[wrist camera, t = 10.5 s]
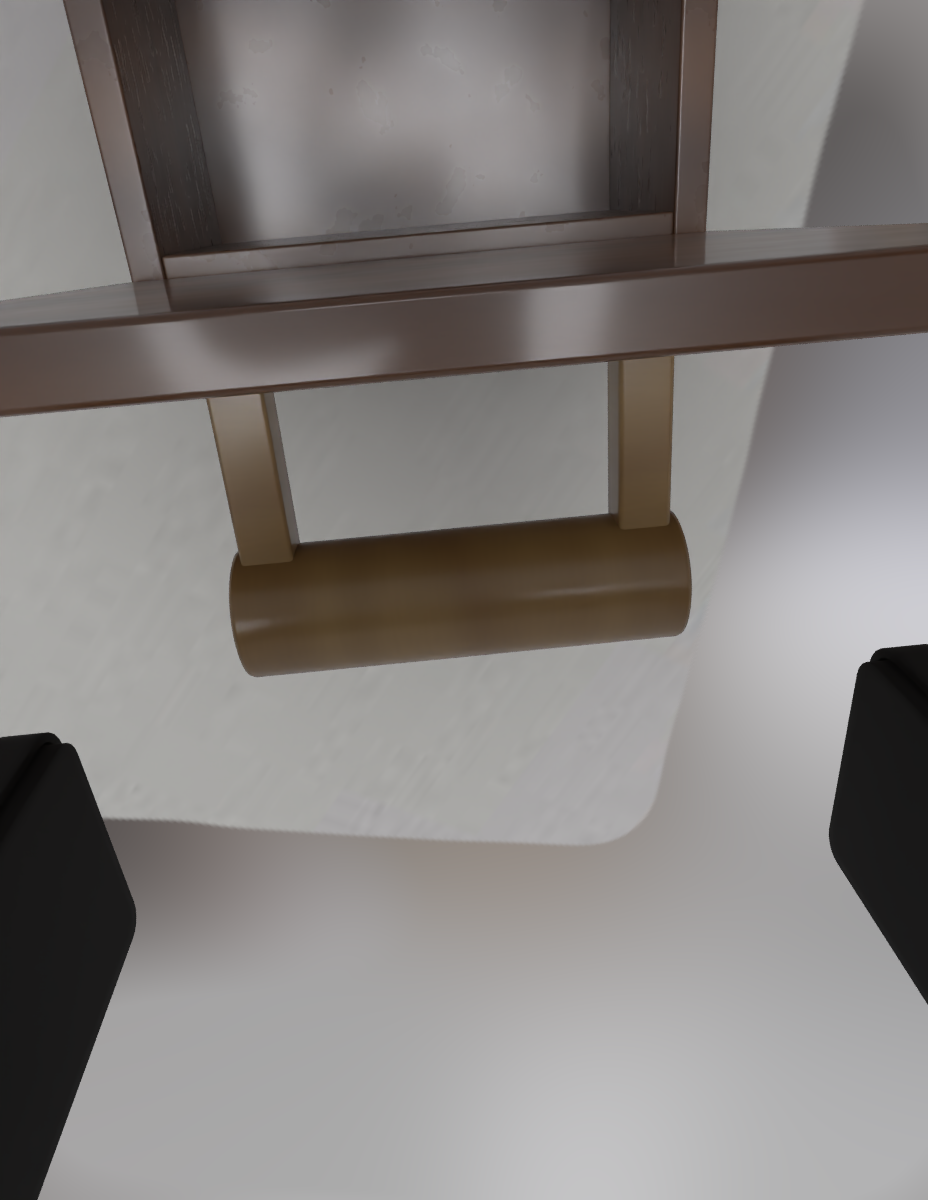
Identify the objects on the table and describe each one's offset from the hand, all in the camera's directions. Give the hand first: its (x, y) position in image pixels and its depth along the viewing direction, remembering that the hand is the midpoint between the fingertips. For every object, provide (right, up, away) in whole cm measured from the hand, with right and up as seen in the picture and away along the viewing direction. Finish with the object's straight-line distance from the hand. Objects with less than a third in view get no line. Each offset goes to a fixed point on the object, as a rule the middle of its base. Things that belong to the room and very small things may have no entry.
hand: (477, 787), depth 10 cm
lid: (-1, +9, +5) cm, 10 cm away
